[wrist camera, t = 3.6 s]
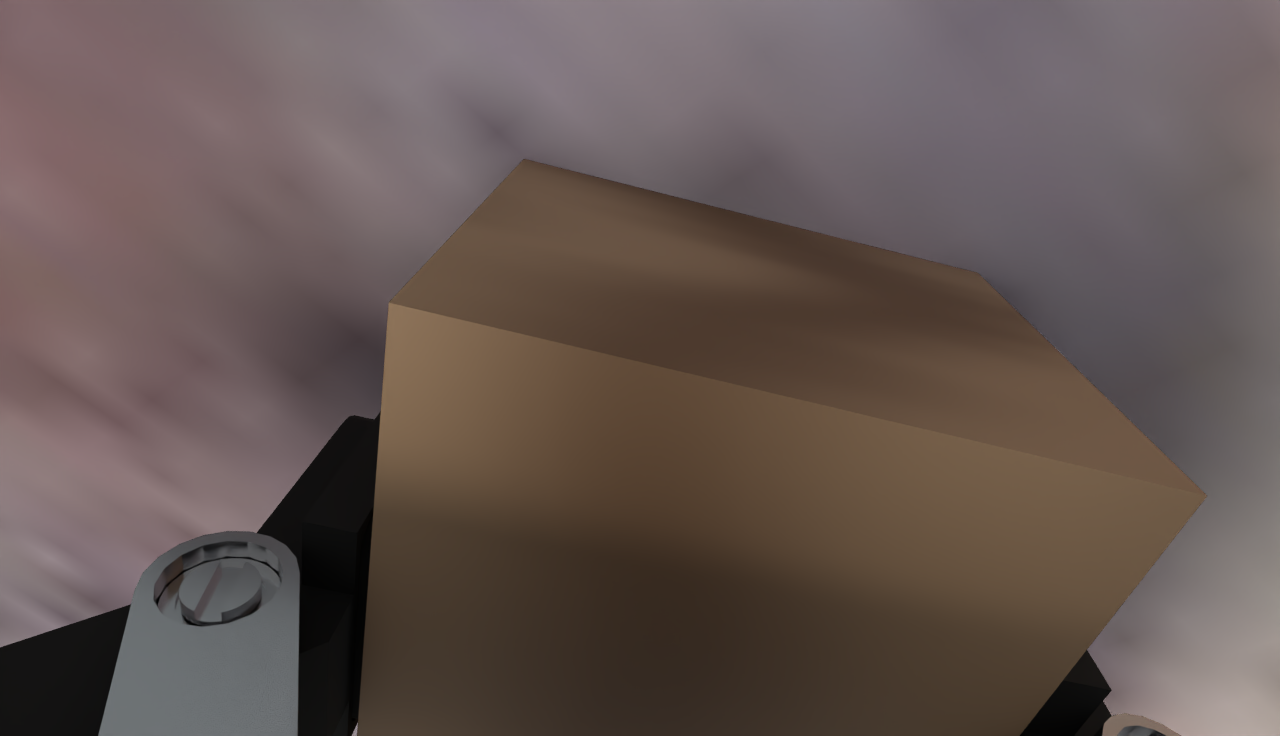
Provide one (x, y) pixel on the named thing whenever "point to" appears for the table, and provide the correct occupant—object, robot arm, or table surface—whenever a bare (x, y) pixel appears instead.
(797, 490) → the walnut brick
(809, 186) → the table surface
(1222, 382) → the table surface
